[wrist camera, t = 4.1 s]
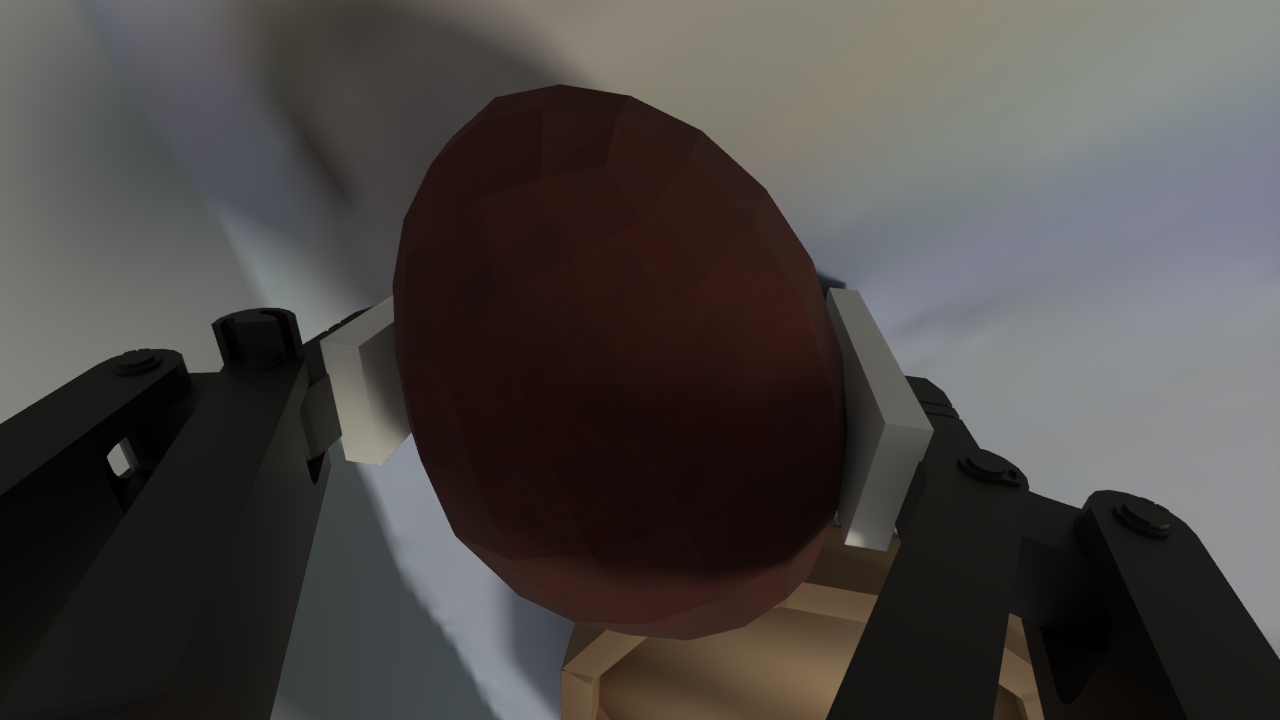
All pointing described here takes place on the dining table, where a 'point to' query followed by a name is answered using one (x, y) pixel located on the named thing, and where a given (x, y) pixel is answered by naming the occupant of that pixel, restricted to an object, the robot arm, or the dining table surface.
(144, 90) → the dining table surface
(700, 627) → the potato
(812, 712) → the tray
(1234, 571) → the dining table surface
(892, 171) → the dining table surface
